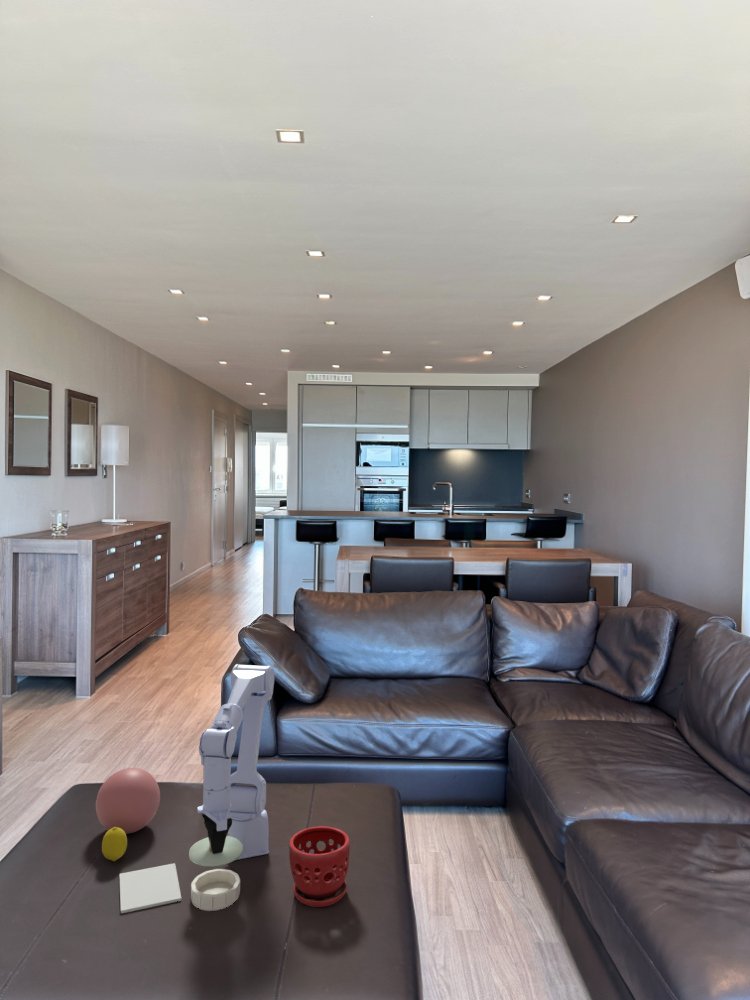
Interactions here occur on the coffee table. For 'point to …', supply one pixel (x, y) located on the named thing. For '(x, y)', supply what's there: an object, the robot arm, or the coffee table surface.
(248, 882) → the coffee table surface
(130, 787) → the balloon
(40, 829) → the coffee table surface
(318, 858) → the plant pot
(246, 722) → the robot arm
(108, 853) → the lemon
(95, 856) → the coffee table surface
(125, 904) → the mat
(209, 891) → the dish
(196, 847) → the lid
